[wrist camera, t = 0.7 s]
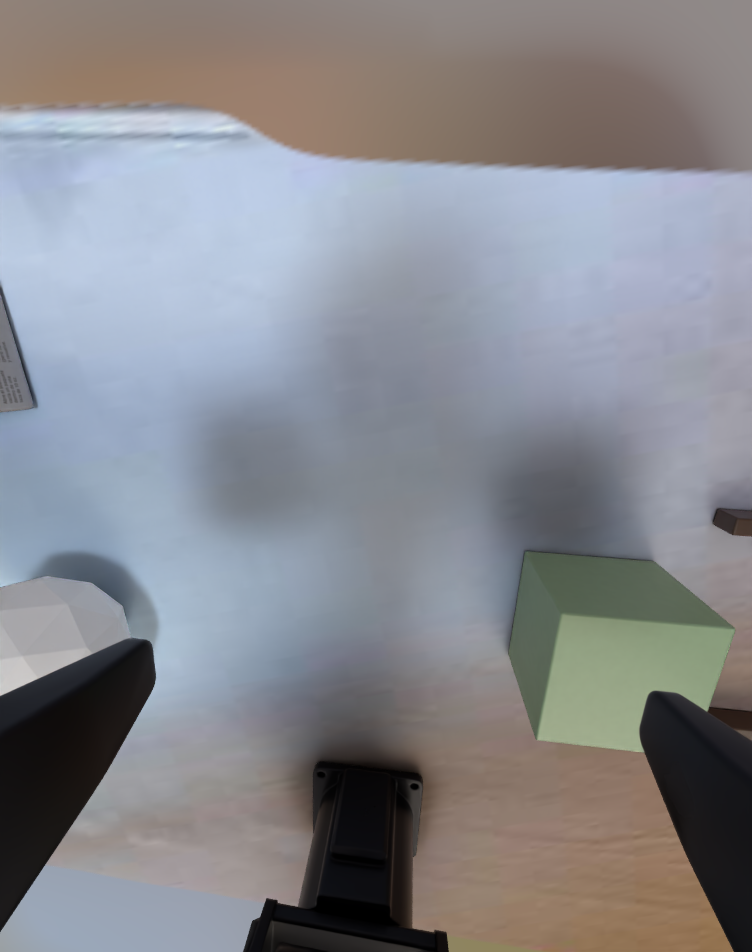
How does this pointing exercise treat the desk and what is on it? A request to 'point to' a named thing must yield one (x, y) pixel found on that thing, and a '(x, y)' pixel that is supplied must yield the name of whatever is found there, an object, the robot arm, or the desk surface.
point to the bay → (741, 526)
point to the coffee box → (11, 371)
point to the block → (608, 646)
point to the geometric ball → (53, 627)
